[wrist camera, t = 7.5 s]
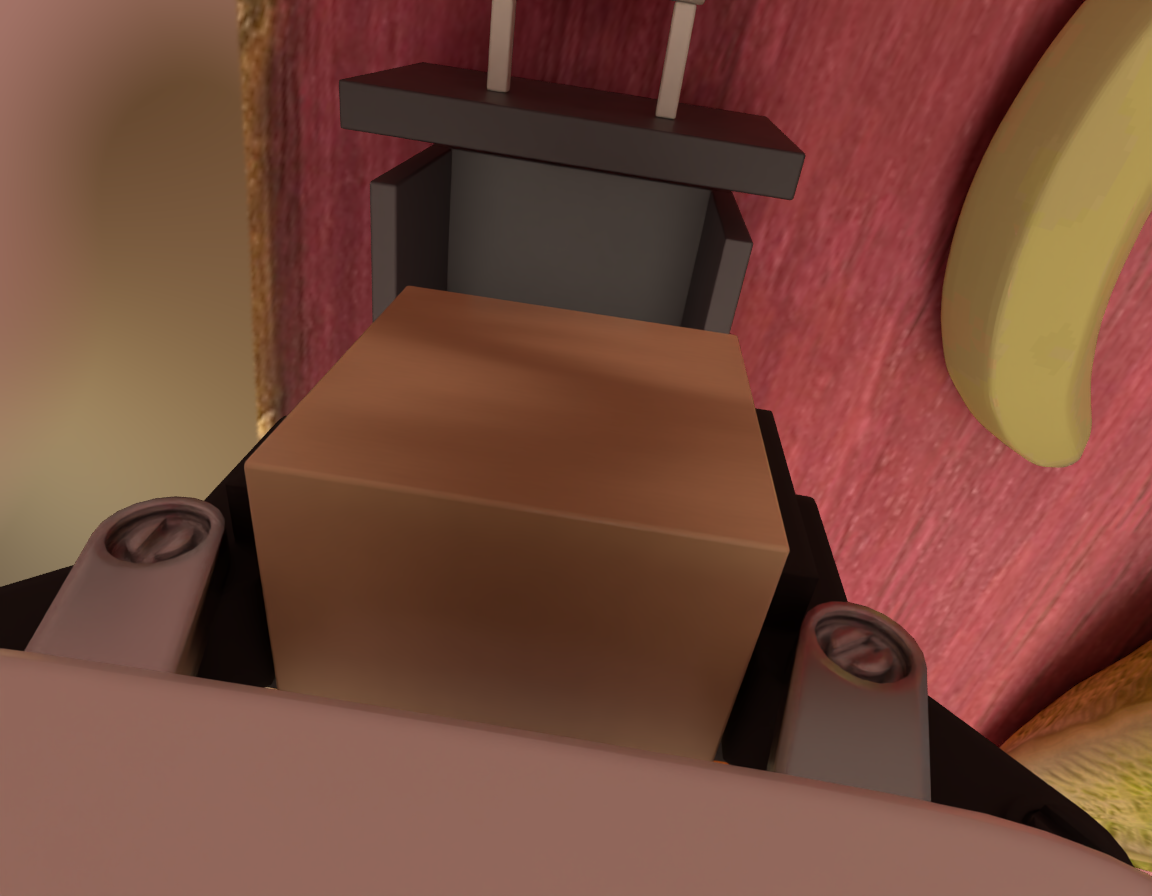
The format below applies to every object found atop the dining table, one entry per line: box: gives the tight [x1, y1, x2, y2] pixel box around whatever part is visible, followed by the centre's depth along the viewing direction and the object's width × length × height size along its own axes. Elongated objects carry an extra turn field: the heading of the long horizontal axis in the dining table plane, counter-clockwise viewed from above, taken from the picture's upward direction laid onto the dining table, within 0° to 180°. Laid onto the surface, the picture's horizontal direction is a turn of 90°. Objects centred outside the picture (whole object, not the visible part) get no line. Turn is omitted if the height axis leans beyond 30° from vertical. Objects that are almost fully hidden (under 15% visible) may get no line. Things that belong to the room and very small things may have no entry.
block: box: [244, 286, 790, 762], centre depth 10 cm, size 5×5×5 cm
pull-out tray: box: [339, 0, 805, 334], centre depth 24 cm, size 18×12×8 cm
